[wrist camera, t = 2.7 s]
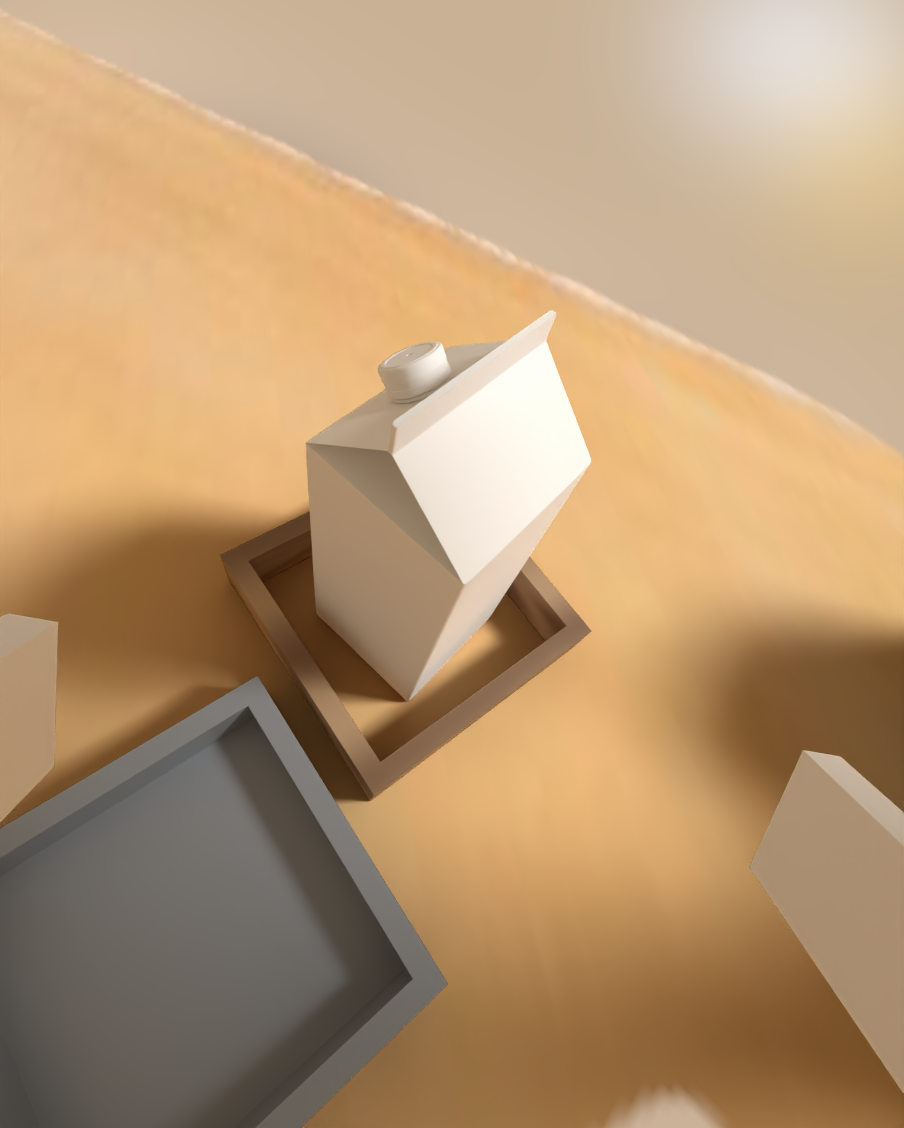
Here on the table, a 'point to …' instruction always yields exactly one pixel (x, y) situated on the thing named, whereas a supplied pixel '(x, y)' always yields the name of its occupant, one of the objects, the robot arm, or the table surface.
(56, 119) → the table surface
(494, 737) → the table surface
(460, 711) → the holder frame
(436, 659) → the milk carton
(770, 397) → the table surface
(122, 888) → the tray
